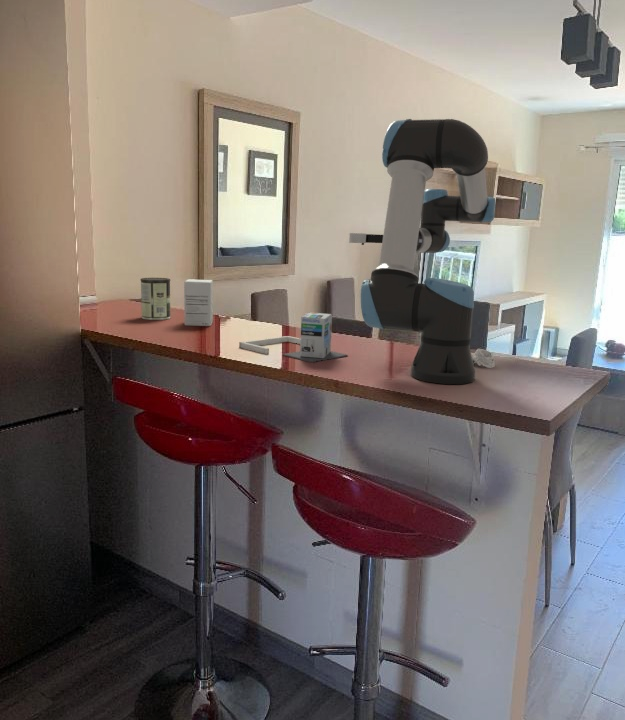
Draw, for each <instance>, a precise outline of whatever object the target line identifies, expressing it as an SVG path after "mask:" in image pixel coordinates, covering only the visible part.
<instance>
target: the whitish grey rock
mask: <svg viewBox="0 0 625 720" xmlns="http://www.w3.org/2000/svg"><path fill="white" fill-rule="evenodd" d="M471 356H472V360H473V364H474V365H475V364H476V365H478V366H479V367H481V366H483V367H484V368H488V369H490V368H491V369H492V368H495V367H496V365H495V364H496V363H495V362H496V358H495V357H494V355H493V353H492V352H491V351H489V350H486V349H484V348H477V349H476V350H475V351H474V353H473V355H472V354H471Z"/></svg>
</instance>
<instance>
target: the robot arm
mask: <svg viewBox="0 0 625 720" xmlns="http://www.w3.org/2000/svg"><path fill="white" fill-rule="evenodd" d="M381 156H382V157H381V158H382V163H383V166H384V167H385V168H386V169H387V170H386V171H387V173H388V175H389V176H390V177H391V180H390V181H391V182H390V188H389V195H388V203H387V208H386V213H385V214H386V215H385V221H384V222H385V223H384V229H383V234H374V233H373V234H372V233H371V234H370V233H369V234H367V233H362V232H361V233H354V232H350V233H349V242H348V243H350V244H361V246H364V245H365V244H366V243H368V244H381V249H380V255H379V263H378V266H377V267H376V268H374V269H372V271H371V273H370V275H371V276H370V278H367V279H365V280H363V281H362V285H361V289H360V309H361V315H362V319H363V321H364V323H365V324H366V326H368V327H370V328H373V329H374V328H376V329H381V330H392V331H393V330H395V331H405V332H406V331H408V332H417V333H420V344H419V347H418V349H417V352H416V354H415V357H414V359H413V361H412V364H411V368H410V376H411V377H413V379H417V380H420V381H422V382H427V383H432V384H433V383H434V384H442V385H464V384H469V383H472V382H474V381H475V377H476V375H475V374H476V370H475V364H473V360H472V356H471V355H472V352H471V347H470V346H471V336H472V325H473V313H474V308H475V304H474V303H475V302H474V301H475V291H474V289H473V288H472V287H471V286H470V285H468V284H466V283H462V282H459V281H454V280H449V279H444V278H435V277H426V278H425V280H424V281H423V283H420V282H419V278H420V277H419V275H418V274H417V273H416V272H415V271H414V270H415V262H416V255H420V254H421V253H423V254H425V253H426V254H428V253H429V254H436V253H442V252H444V251H446V250H447V249H448V247H449V246H450V242H451V237H450V234H449V233H448V231H447V230H446V229H445V228H446V222H467V223H481V224H482V223H491V222H493V221H494V218H495V214H496V203H497V202H496V199H495V197H493V196H488V189H487V188H488V187H487V175H486V166H487V164H488V161H489V153H488V147H487V145H486V142H485V140H484V138H483V137H482V136H481V134H480V133H478V132H477V130H476V129H474V128H473V127H472V126H471V125H469V124H467V123H465V122H463V121H461V120H458V119H455V118H446V119H443V118H442V119H440V118H438V119H433V118H432V119H411V118H406V119H400V120H395V121H393V122H392V123H390V124H389V126H388V128H387V130H386V132H385V134H384V139H383V143H382V155H381ZM435 169H452V171H453V172H454V173H455V175H456V181H457V185H458V192H459V195H449V194H448V190H447V189H445V188H427V189H426V183H427V182H428V181H429V180H430V179H432V177H433V176H434V172H435V171H434V170H435Z"/></svg>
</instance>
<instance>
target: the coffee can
mask: <svg viewBox="0 0 625 720" xmlns="http://www.w3.org/2000/svg"><path fill="white" fill-rule="evenodd" d="M140 293H141V294H140V297H141V298H140V299H141V300H140V301H141V305H140V306H141V319H143V320H148V321H149V320H150V321H162V320H163V321H164V320H170V319H171V279H170V278H168V277H166V278H165V277H142V278H140Z"/></svg>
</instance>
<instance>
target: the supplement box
mask: <svg viewBox="0 0 625 720" xmlns="http://www.w3.org/2000/svg"><path fill="white" fill-rule="evenodd" d="M183 284H184V287H183V288H184V291H183V292H184V294H183V295H184V296H183V297H184V304H183V305H184V306H183V307H184V326H192V327H194V326H195V327H197V326H198V327H211V325H212V324H213V321H214V319H213V318H214V315H213V314H214V313H213V311H214V308H213V307H214V305H213V304H214V303H213V302H214V301H213V299H214V297H213V296H214V293H213V292H214V291H213V289H214V286H213V284H214V280H213V279H193V278H191V279H186V280H185V281H184V283H183Z"/></svg>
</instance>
